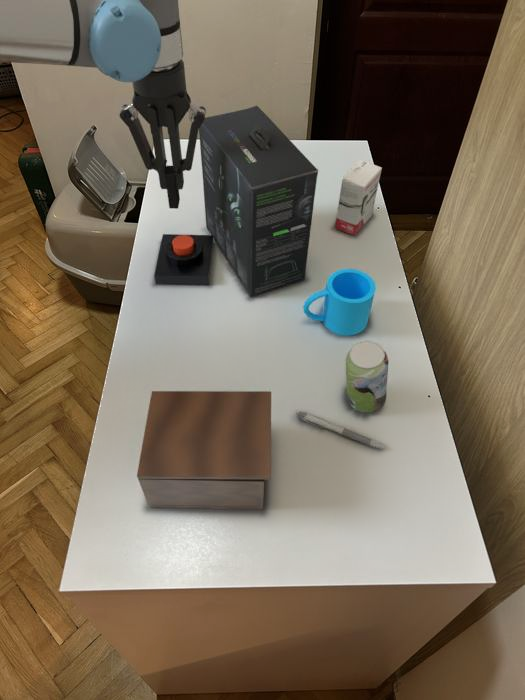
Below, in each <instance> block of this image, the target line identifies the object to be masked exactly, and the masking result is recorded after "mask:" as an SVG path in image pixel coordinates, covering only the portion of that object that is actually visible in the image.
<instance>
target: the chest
mask: <svg viewBox="0 0 525 700" xmlns="http://www.w3.org/2000/svg"><path fill="white" fill-rule="evenodd" d="M137 480H138V483H139V485H140V489H141V490H142V493H143V496H144V499H145V500H146V504H147V506H148V508H166V509H167V508H171V509H172V508H173V509H215V510H216V509H217V510H218V509H219V510H220V509H222V510H262V511H263V510H264V491H265V479H138V478H137Z"/></svg>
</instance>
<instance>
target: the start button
mask: <svg viewBox="0 0 525 700" xmlns="http://www.w3.org/2000/svg"><path fill="white" fill-rule="evenodd" d="M179 235H180V236H177V237H175V238H174V239H173V241H172V245H173V251H174V253H175V254H177V255H188V254H191V253H193V251H194V240H193V238H192V237H190V236H187V235H188V234H179Z"/></svg>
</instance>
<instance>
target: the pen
mask: <svg viewBox="0 0 525 700" xmlns="http://www.w3.org/2000/svg"><path fill="white" fill-rule="evenodd" d="M295 414H296V415H297V417H299V418H300V419H301V420H302V421H304V422H306V423H308V424H310V425H312V426H315V427H319V428H322V429H327V430H330V431H333V432H335V433H338V434H340V435H342V436H345V437H347V438H350V439H352V440H355V441H357V442H360V443H361V444H364V445H367V446H370V447H373V448H377V449H385V447H384V445H383V444H382V443H380V442H378V441H377V440H375V439H372V438H371V437H368V436H365V435H362V434H361V433H358V432H355V431H353V430H350V429H347V428H346V427H344V426H343V427H342V426H339V425H337V424H335V423H332V422H329V421H327V420H324V419H322V418H321V417H317V416H315V415H312V414H310V413H307V412H304V411H295Z"/></svg>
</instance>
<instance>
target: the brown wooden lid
mask: <svg viewBox="0 0 525 700" xmlns="http://www.w3.org/2000/svg"><path fill="white" fill-rule="evenodd" d="M271 468H272V391H268V390H267V391H265V390H263V391H261V390H260V391H259V390H257V391H255V390H254V391H253V390H252V391H249V390H248V391H246V390H245V391H243V390H242V391H237V390H234V391H232V390H231V391H230V390H229V391H224V390H223V391H220V390H219V391H218V390H217V391H215V390H214V391H213V390H212V391H211V390H207V391H206V390H204V391H203V390H202V391H201V390H199V391H198V390H197V391H195V390H194V391H193V390H192V391H189V390H183V391H181V390H174V391H173V390H155V391H154V390H151V393H150V399H149V405H148V411H147V416H146V422H145V428H144V434H143V439H142V444H141V449H140V456H139V461H138V467H137V472H136V478H137V480H138V479H264V480H267V481H268V480H271V478H272V476H271V474H272V469H271Z"/></svg>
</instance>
